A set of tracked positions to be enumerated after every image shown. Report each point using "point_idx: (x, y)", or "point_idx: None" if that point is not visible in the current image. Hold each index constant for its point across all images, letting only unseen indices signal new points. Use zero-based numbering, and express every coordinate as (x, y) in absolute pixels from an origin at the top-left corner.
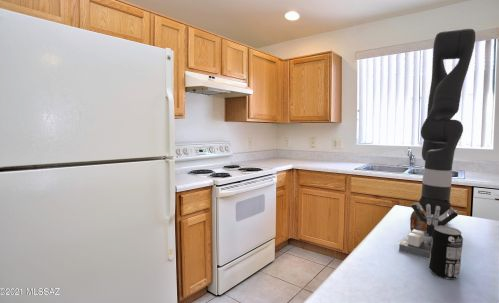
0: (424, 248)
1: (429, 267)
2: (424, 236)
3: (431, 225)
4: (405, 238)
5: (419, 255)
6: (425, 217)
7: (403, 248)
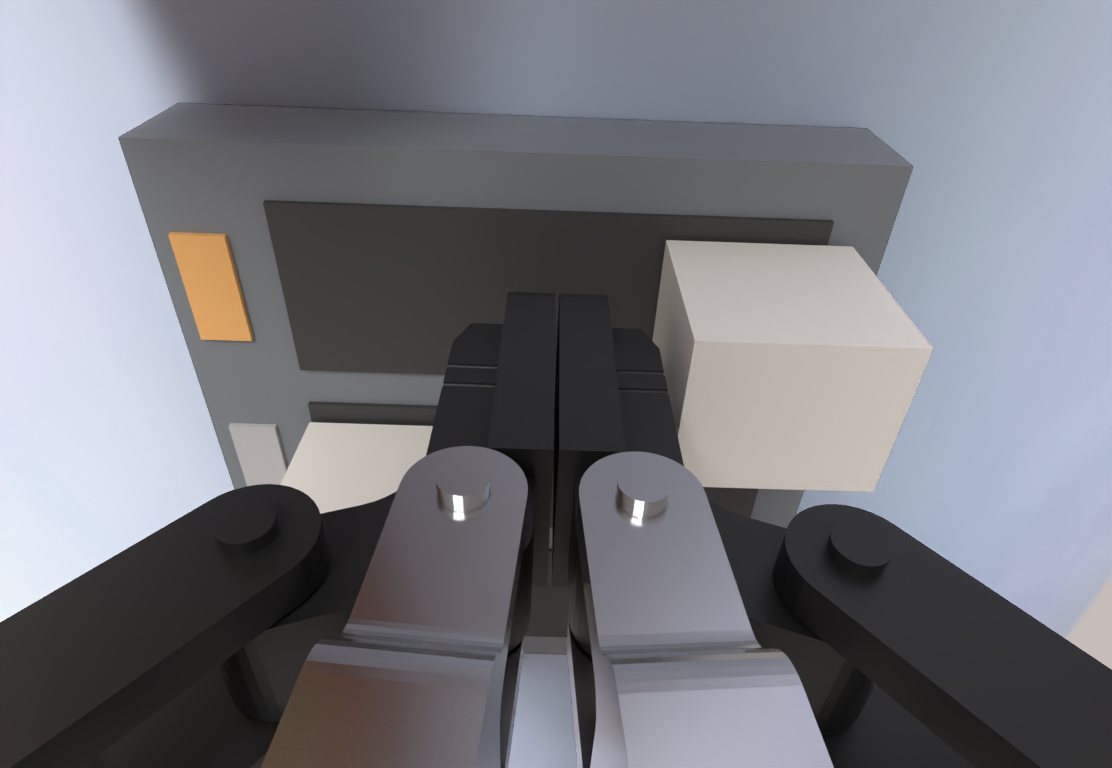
0: (533, 617)
1: None
2: (410, 177)
3: (533, 575)
4: (240, 475)
5: None
6: (301, 654)
7: None
